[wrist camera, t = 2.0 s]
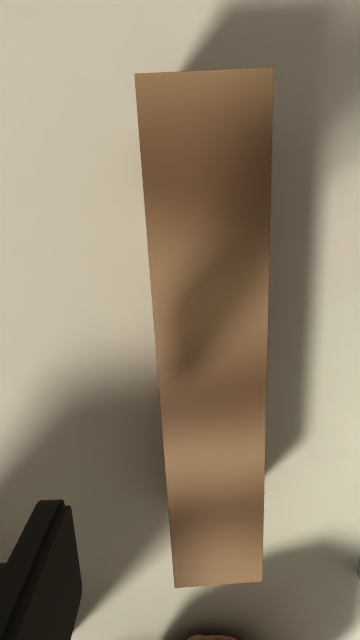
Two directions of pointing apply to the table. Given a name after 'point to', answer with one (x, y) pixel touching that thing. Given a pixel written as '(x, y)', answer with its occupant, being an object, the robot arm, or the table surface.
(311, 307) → the table surface
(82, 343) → the table surface
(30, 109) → the table surface
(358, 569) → the end cap
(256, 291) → the slat
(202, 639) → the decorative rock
